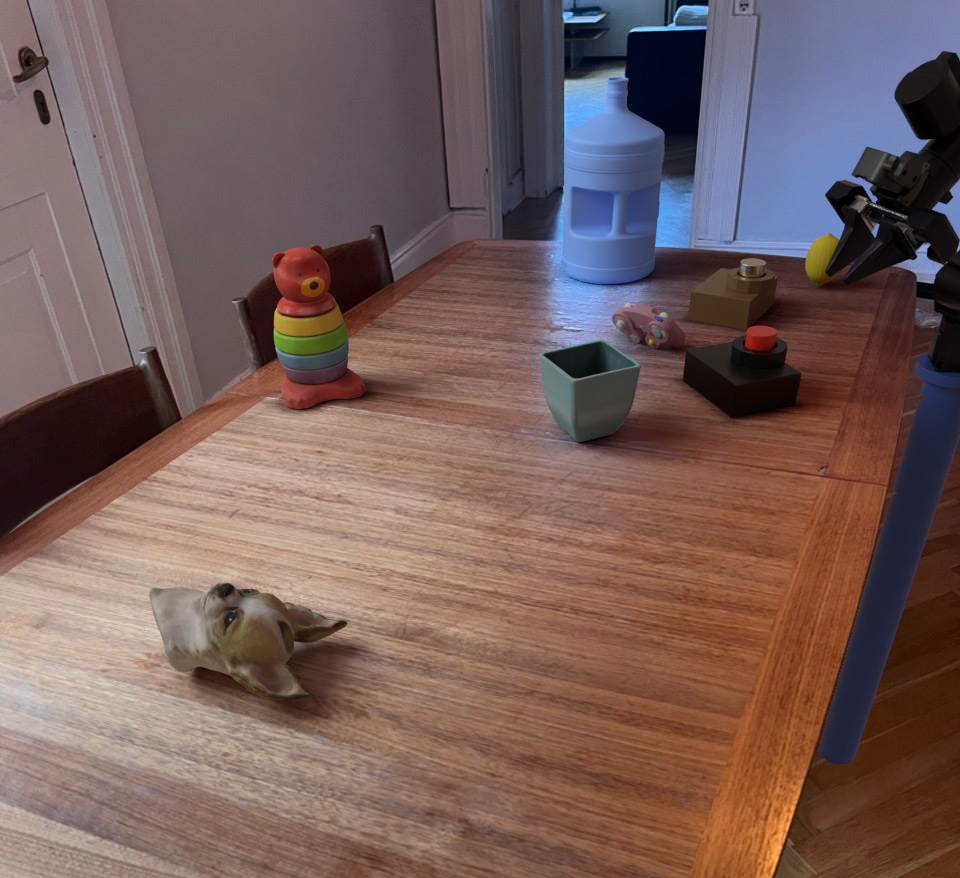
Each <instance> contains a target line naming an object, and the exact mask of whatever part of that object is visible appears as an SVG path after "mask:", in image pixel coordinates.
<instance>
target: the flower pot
mask: <svg viewBox="0 0 960 878" xmlns="http://www.w3.org/2000/svg"><path fill="white" fill-rule="evenodd" d="M538 358H539V367H540V374H541V375H540V376H541V383H542V390H543V394H544V398H545V402H546V404H547V407H548V409H549V411H550V413H551V415H552V417H553V419H554V420H555V422H556V424H557V426H559V428H561V430H563V431H564V432H565V433H566V434H567V435H568V436H570V438H572V439H573V440H574V441H575V442H577V443H583V442H586V441H590V440H594V439H598V438H602V437H606V436H607V437H608V436H610V435H614V434H615V433H616V432H617V431H618V430H619V429H620V427H621V426H622V425H623V424H624V422H625V421H626V420H627V417H628V416H629V414H630V412H631V410H632V407H633V404H634V401H635V396H636V392H637V389H638V383H639V377H640V373H641V369H642V365H641V363H639V362H638V361H637V360H635V359H634V358H632V357H630V356H629V355H627V354H626V353H624V352H623V351H621V350H620V349H619V348H617V347H616V346H614V345H613V344H611V342H609V341H607V340H604V339H598V340H592V341H589V342H584V343H580V344H574V345H570V346H566V347H562V348H556V349H552V350H547V351H542V352H540V353H539V354H538Z"/></svg>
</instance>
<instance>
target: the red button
mask: <svg viewBox="0 0 960 878" xmlns="http://www.w3.org/2000/svg"><path fill="white" fill-rule="evenodd" d="M745 335H746V340H745V347H746V348H749V349H753V350H759V351H767V350H772V349H774V348H775V343H776V337H777V336H778V330H777V329H775V328H774V327H771V326H767V325H752V326H750V327H749V328H748V329H747V330H746V333H745Z"/></svg>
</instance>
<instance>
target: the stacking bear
mask: <svg viewBox="0 0 960 878" xmlns="http://www.w3.org/2000/svg"><path fill="white" fill-rule="evenodd" d="M271 264H272V266H273V278H274V282H275V285H276V287H277V289H278V292H279V293H280V294H281V296H282V297H281V298H280V299H279V301H278V303H277V307H276V308H275V311H274V315H273V341H274V342H273V343H274V346H275V352H276V355H277V358H278V360H279V362H280V364H281V367H282V370H283V372H284V374H285V376H284V378H283V380H282V383H281V387H280V395H281V400H282V402H283V403H284V405H285V406H286V407H289V408H290V409H296V410H301V409H308V408H311V407H314V406H315V405H317V404H320V403H322V402H325V401H332V400H338V399H339V400H340V399H341V400H350V399H351V400H352V399H355V398H359V397H361V396H362V395H364V394H365V393H366V390H367V389H366V384H365V382H364V380H363V378H362V377H361V376H360V375H359V374H357V373H356V372H355V371H354V370H352V369H350V368H349V367H348V366H349V365H348V364H349V351H350V350H349V349H350V345H349V344H350V342H349V333H348V329H347V325H346V322H345V320H344V318H343V315H342V312H341V310H340V307H339V305H338V303H337V300H336V299H335V297H334V296H333V295H332V294H331V293H329V292H328V291H329V288H330V285H331V271H330V267H329V264H328V263H327V261H326V259H325V257H324V249H323V248H322V247H321V246H320V245H319V244H312V245H309V247H308V248H307V247H306V248H305V247H293V248H289V249H286V251H284V252H282V251H281V252H280V251H278V252H276V253H274V254H273V255H272V257H271Z"/></svg>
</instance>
